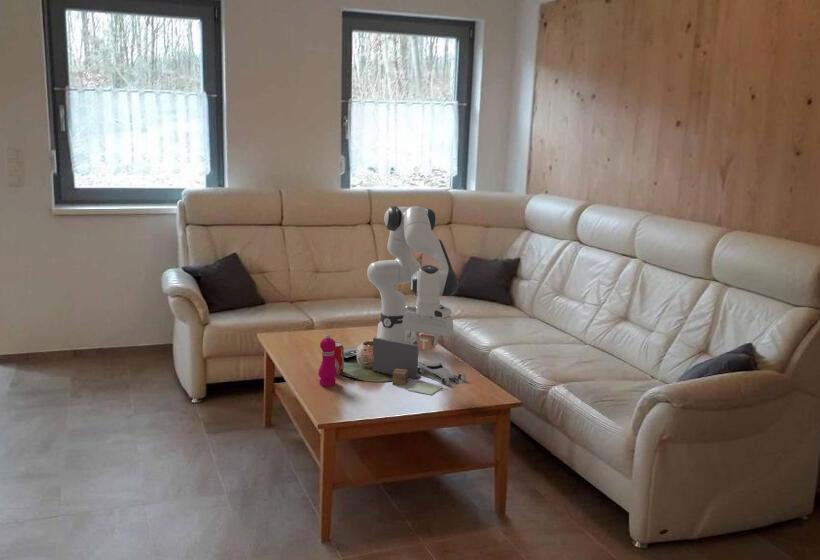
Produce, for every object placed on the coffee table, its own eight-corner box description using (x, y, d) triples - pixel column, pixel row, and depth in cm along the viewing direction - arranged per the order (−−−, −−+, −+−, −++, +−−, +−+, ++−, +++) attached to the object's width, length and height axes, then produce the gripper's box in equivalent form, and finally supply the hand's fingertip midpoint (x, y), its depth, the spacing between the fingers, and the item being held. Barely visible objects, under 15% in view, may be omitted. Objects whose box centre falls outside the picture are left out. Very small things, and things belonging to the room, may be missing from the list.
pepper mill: (315, 381, 302) (316, 332, 298) (333, 379, 305) (334, 331, 301) (321, 387, 296) (321, 337, 292) (339, 385, 299) (339, 336, 294)
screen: (377, 367, 321) (378, 335, 318) (420, 376, 312) (421, 343, 309) (372, 370, 317) (373, 338, 314) (415, 379, 308) (416, 346, 305)
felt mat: (419, 382, 304) (419, 382, 304) (442, 387, 300) (442, 386, 300) (407, 390, 296) (407, 389, 296) (431, 395, 291) (431, 394, 291)
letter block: (423, 345, 298) (423, 333, 297) (435, 347, 295) (435, 335, 294) (417, 348, 293) (417, 336, 292) (429, 351, 291) (429, 338, 290)
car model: (447, 388, 301) (447, 375, 300) (408, 371, 320) (409, 359, 319) (468, 382, 308) (468, 370, 307) (429, 366, 326) (429, 355, 325)
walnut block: (395, 380, 307) (395, 368, 306) (407, 381, 306) (408, 369, 305) (392, 384, 302) (392, 372, 301) (404, 386, 301) (405, 373, 300)
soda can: (340, 375, 310) (341, 347, 307) (323, 374, 311) (324, 345, 309) (345, 370, 317) (346, 342, 314) (329, 368, 318) (329, 340, 316)
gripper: (399, 306, 293) (398, 341, 296) (448, 314, 284) (447, 350, 287) (407, 303, 299) (406, 338, 301) (455, 310, 289) (454, 346, 292)
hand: (426, 344), depth 294 cm, fingers closed on letter block, 5 cm apart
